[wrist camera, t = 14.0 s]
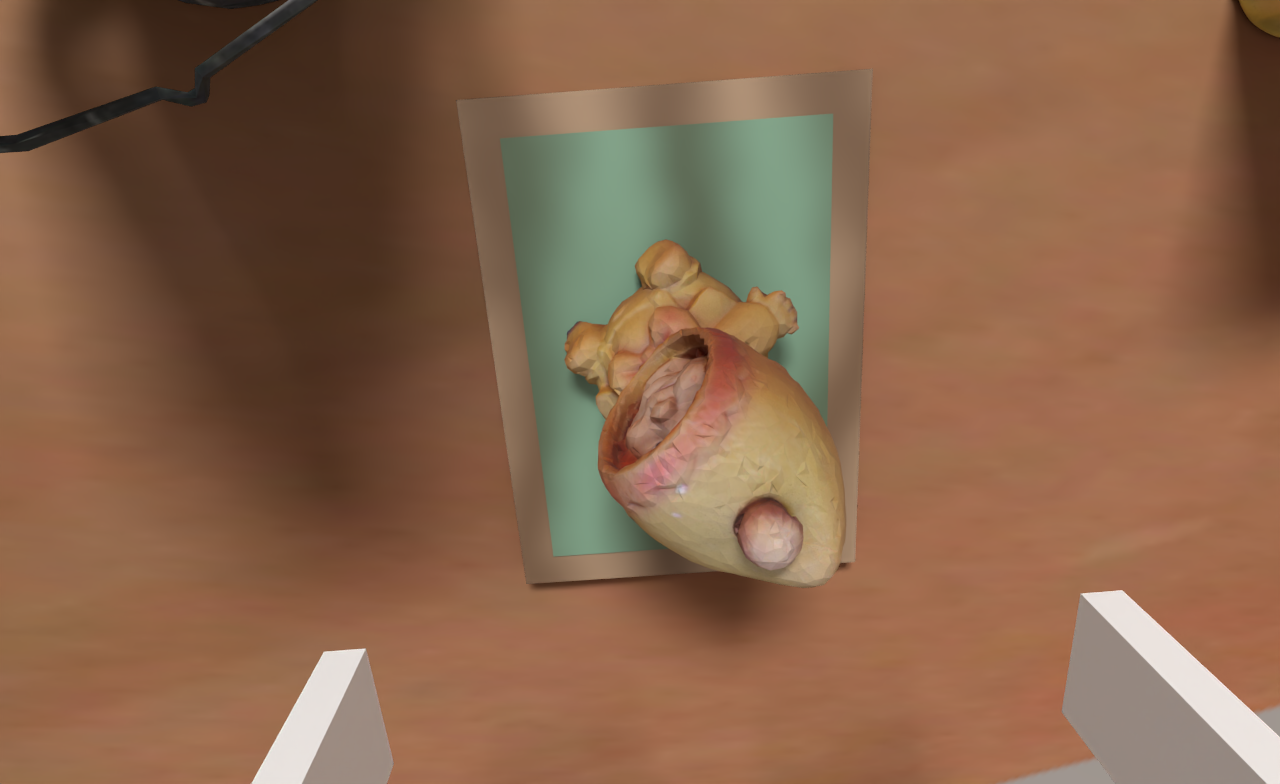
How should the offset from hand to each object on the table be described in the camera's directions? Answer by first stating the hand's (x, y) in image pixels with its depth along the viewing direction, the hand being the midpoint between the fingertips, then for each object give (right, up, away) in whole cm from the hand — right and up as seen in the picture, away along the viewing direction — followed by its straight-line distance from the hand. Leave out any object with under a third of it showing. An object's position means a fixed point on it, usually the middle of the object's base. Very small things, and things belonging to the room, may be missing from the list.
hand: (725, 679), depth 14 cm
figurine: (0, +7, +19) cm, 20 cm away
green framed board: (0, +7, +20) cm, 21 cm away
